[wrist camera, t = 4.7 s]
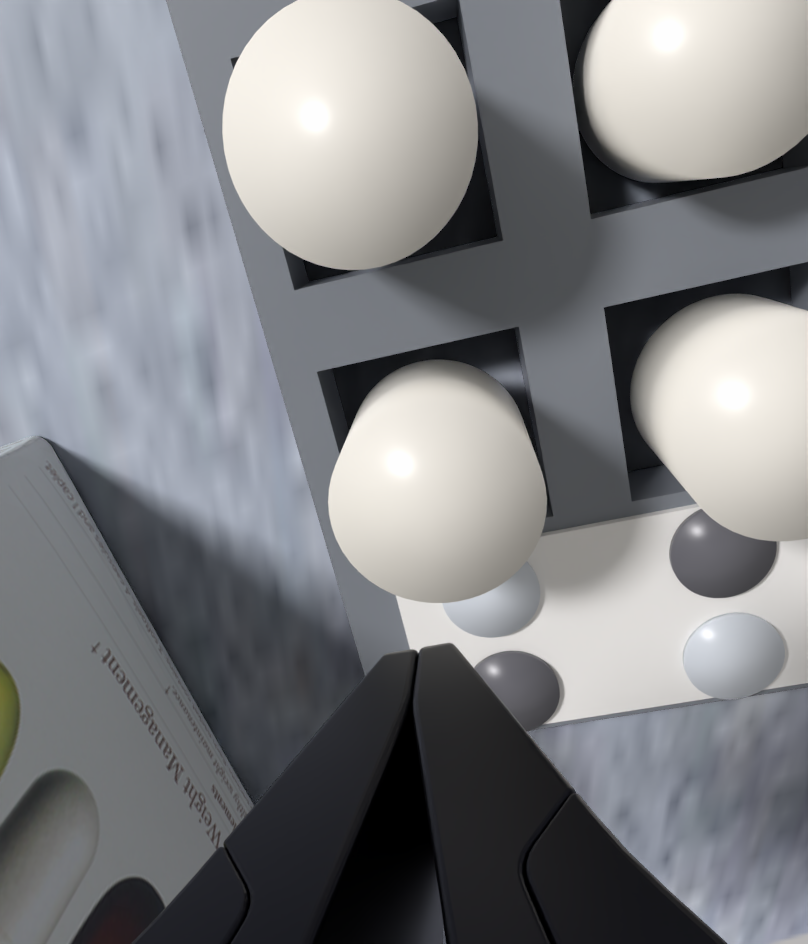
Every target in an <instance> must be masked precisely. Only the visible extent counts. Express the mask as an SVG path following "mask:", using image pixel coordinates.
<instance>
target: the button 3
mask: <svg viewBox="0 0 808 944" xmlns="http://www.w3.org/2000/svg"><path fill="white" fill-rule="evenodd" d="M573 97H574V104H575V111H576V118H577V123H578V126H579V129H580V132H581V134H582V136H583V138H584V140H585V142H586V143H587V145H588V146H589V148H590V149H591V151H592V152H593V153H594V154H595V155H596V156H597V158H598V159H599V160H600V161H601V162H602V163H604V164H605V165H606V166H607V167H609V168H610V169H611V170H613V171H615V172H617V173H618V174H620V175H622V176H625V177H627V178H630V179H633V180H637V181H641V182H649V183H667V182H678V181H689V180H701V179H712V178H723V177H729V176H735V175H740V174H743V173H746V172H750V171H753V170H755V169H758V168H760V167H762V166H764V165H767V164H769V163H770V162H772V161H774V160H775V159H777V158H779V157H780V156H782V155H784V154H785V153H786V152H788V151H789V150H790V149H791V148H793V147H794V146H795V145H797V144H798V143H799V142H800V141H801V140H802V139H803V138H804V137H805V136H806V135H807V134H808V0H611V1H610V2H609V4H608V5H607V6H606V7H605V8H604V10H603V11H602V12H601V13H600V14H599V16H598V17H597V19H596V20H595V22H594V23H593V24H592V26H591V27H590V29H589V31H588V33H587V35H586V37H585V39H584V41H583V43H582V46H581V48H580V51H579V54H578V57H577V61H576V64H575V70H574V76H573Z"/></svg>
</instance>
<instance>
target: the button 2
mask: <svg viewBox="0 0 808 944" xmlns="http://www.w3.org/2000/svg"><path fill="white" fill-rule="evenodd" d="M328 507H329V517H330V522H331V526H332V529H333V532H334V535H335V538H336V540H337V542H338V544H339V546H340V548H341V550H342V552H343V553H344V554H345V556H346V557H347V559H348V560H349V562H350V563H351V564H352V565H353V566H354V567H355V568H356V569H357V570H358V572H360V573H361V574H362V575H363V576H364V577H365V578H367V579H368V580H369V581H370V582H372V583H374V584H375V585H377V586H378V587H380V588H381V589H383V590H385V591H387V592H389V593H391V594H394V595H397V596H400V597H402V598H405V599H410V600H414V601H418V602H427V603H449V602H458V601H463V600H467V599H471V598H474V597H477V596H479V595H482V594H485V593H487V592H489V591H491V590H493V589H495V588H497V587H498V586H500V585H501V584H503V583H504V582H505V581H507V580H508V579H509V578H511V577H512V576H513V575H514V574H515V573H516V572H517V571H518V570H519V569H520V568H521V567H522V566H523V565H524V564H525V562H526V561H527V560H528V558H529V557H530V555H531V554H532V552H533V551H534V549H535V547H536V545H537V543H538V541H539V539H540V537H541V533H542V530H543V527H544V523H545V518H546V511H547V495H546V486H545V482H544V478H543V474H542V471H541V468H540V465H539V463H538V460H537V457H536V454H535V452H534V449H533V446H532V443H531V441H530V438H529V435H528V432H527V429H526V427H525V424H524V421H523V418H522V416H521V413H520V411H519V409H518V406H517V405H516V403H515V401H514V400H513V398H512V397H511V395H510V394H509V393H508V391H507V390H506V389H505V388H504V387H503V386H502V385H501V384H500V383H499V382H498V381H497V380H496V379H494V378H493V377H492V376H490V375H489V374H487V373H486V372H484V371H482V370H480V369H478V368H476V367H474V366H471V365H468V364H466V363H462V362H458V361H452V360H443V359H441V360H426V361H419V362H416V363H412V364H409V365H406V366H404V367H402V368H399V369H397V370H395V371H394V372H392V373H390V374H389V375H387V376H386V377H384V378H383V379H382V380H381V381H380V382H378V383H377V384H376V385H375V386H374V387H373V388H372V390H371V391H370V392H369V393H368V395H367V396H366V397H365V399H364V400H363V402H362V404H361V406H360V408H359V410H358V412H357V414H356V417H355V419H354V421H353V424H352V426H351V429H350V431H349V433H348V436H347V438H346V441H345V443H344V446H343V448H342V450H341V453H340V455H339V458H338V460H337V462H336V465H335V468H334V471H333V473H332V477H331V481H330V486H329V496H328Z"/></svg>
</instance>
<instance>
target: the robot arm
mask: <svg viewBox="0 0 808 944" xmlns="http://www.w3.org/2000/svg"><path fill="white" fill-rule="evenodd" d="M223 845H224V847H219V848H217V850H216V851H215V852H214V853H213V854H212V855H211V857H210V858H209V859H208V860H207V861H206V862H205V864H204V865H203V866H202V867H201V868H200V869H199V871H198V872H197V873H196V874H195V875H194V876H193V877H192V879H191V880H190V881H189V882H188V883H187V884H186V885H185V886H184V888H183V889H182V890H181V891H180V892H179V893H178V894H177V895H176V896H175V898H174V899H173V900H172V901H171V902H170V903H169V904H168V905H167V907H166V908H165V909H164V910H163V911H162V912H161V913H160V914H159V915H158V917H157V918H156V919H155V920H154V921H153V922H152V923H151V924H150V925H149V926H148V927H147V928H146V929H145V930H144V931H143V932H142V933H141V934H140V935H139V936H138V937H137V938H136V939H135V940H134V941H133V942H132V943H131V944H443V924H444V930H445V937H446V944H727V943H726V942H725V941H724V940H723V939H722V938H721V937H720V936H719V935H718V934H716V933H715V932H714V931H713V930H712V929H711V928H710V927H709V926H708V925H706V924H705V923H704V922H703V921H702V920H701V919H700V918H699V917H698V916H697V915H695V914H694V913H693V912H692V911H691V910H690V909H689V908H688V907H687V906H686V905H684V904H683V903H682V902H681V901H680V900H679V899H678V898H677V897H676V896H674V895H673V894H672V893H671V892H670V891H669V890H668V889H667V888H666V887H665V886H664V885H663V884H662V883H661V882H660V881H659V880H658V879H656V878H655V877H654V876H653V875H652V874H651V873H650V872H649V871H648V870H647V869H646V868H645V867H644V866H643V865H642V864H641V863H640V862H639V861H638V860H637V859H636V858H635V857H634V856H633V855H632V854H630V853H629V851H628V850H627V849H626V848H625V847H624V846H623V845H622V844H621V843H620V841H619V840H618V839H617V838H616V837H615V836H614V835H613V834H612V833H611V831H610V830H609V829H608V828H607V827H606V826H605V825H604V824H603V823H602V821H601V820H600V819H599V818H598V817H597V816H596V815H595V813H594V812H593V811H592V810H591V808H590V807H589V806H588V805H587V804H586V802H585V801H584V800H583V799H582V798H581V796H580V795H578V794H576V792H575V790H574V789H573V787H572V786H571V785H570V784H569V782H568V781H567V780H566V779H565V778H564V776H563V775H562V774H561V773H560V772H559V770H558V769H557V768H556V767H555V766H554V764H553V763H552V762H551V761H550V760H549V758H548V757H547V756H546V755H545V753H544V752H543V751H542V750H541V749H540V747H539V746H538V745H537V744H536V743H535V741H534V740H533V739H532V738H531V737H530V735H529V734H528V733H527V732H526V731H525V729H524V728H523V727H522V726H521V724H520V723H519V722H518V721H517V720H516V718H515V717H514V716H513V715H512V714H511V712H510V711H509V710H508V709H507V708H506V706H505V705H504V704H503V703H502V701H501V700H500V699H499V698H498V697H497V695H496V694H495V693H494V692H493V691H492V689H491V688H490V687H489V686H488V685H487V683H486V682H485V681H484V680H483V679H482V677H481V676H480V675H479V674H478V672H477V671H476V670H475V669H474V668H473V666H472V665H471V664H470V663H469V662H468V660H467V659H466V658H465V657H464V656H463V654H462V653H461V652H460V651H459V650H458V648H457V647H456V646H455V645H454V644H452V643H443V644H438V645H432V646H426V647H423V648H421V649H420V651H419V653H418V652H417V650H414V649H409V650H404V651H398V652H392V653H387V654H385V655H383V656H382V657H381V658H380V659H379V660H378V662H377V663H376V664H375V665H374V666H373V667H372V669H371V670H370V671H369V672H368V673H367V674H366V676H365V677H364V678H363V679H362V680H361V681H360V683H359V684H358V685H357V686H356V687H355V688H354V690H353V691H352V692H351V693H350V694H349V695H348V697H347V698H346V699H345V700H344V701H343V702H342V704H341V705H340V706H339V707H338V708H337V710H336V711H335V712H334V713H333V714H332V715H331V717H330V718H329V719H328V720H327V721H326V722H325V724H324V725H323V726H322V727H321V728H320V729H319V731H318V732H317V733H316V734H315V735H314V736H313V738H312V739H311V740H310V741H309V742H308V743H307V745H306V746H305V747H304V748H303V749H302V750H301V752H300V753H299V754H298V755H297V756H296V757H295V759H294V760H293V761H292V762H291V763H290V765H289V766H288V767H287V768H286V769H285V770H284V772H283V773H282V774H281V775H280V776H279V777H278V779H277V780H276V781H275V782H274V783H273V784H272V786H271V787H270V788H269V789H268V790H267V791H266V793H265V794H264V795H263V796H262V797H261V798H260V800H259V801H258V802H257V803H256V804H255V805H254V807H253V808H252V809H251V810H250V811H249V813H248V814H247V815H246V816H245V817H244V818H243V820H242V821H241V822H240V823H239V824H238V825H237V827H236V828H235V829H234V830H233V831H232V832H231V834H230V835H229V836H228V837H227V838H226V839H225V841H224V843H223Z"/></svg>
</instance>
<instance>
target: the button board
mask: <svg viewBox="0 0 808 944" xmlns="http://www.w3.org/2000/svg"><path fill="white" fill-rule="evenodd" d="M295 1H297V0H166V2H167V5H168V8H169V12H170V15H171V19H172V22H173V25H174V29H175V32H176V36H177V39H178V42H179V46H180V49H181V53H182V56H183V59H184V63H185V66H186V70H187V73H188V76H189V80H190V83H191V87H192V90H193V93H194V97H195V100H196V104H197V107H198V110H199V114H200V117H201V121H202V124H203V127H204V131H205V134H206V138H207V141H208V144H209V148H210V151H211V155H212V158H213V161H214V165H215V168H216V172H217V175H218V178H219V182H220V185H221V189H222V192H223V195H224V199H225V202H226V206H227V209H228V212H229V216H230V219H231V223H232V226H233V229H234V233H235V236H236V240H237V243H238V246H239V250H240V253H241V257H242V260H243V263H244V267H245V270H246V274H247V277H248V280H249V284H250V287H251V291H252V294H253V297H254V301H255V304H256V308H257V311H258V314H259V318H260V321H261V325H262V328H263V331H264V335H265V338H266V342H267V345H268V348H269V352H270V355H271V359H272V362H273V365H274V369H275V372H276V376H277V379H278V382H279V386H280V389H281V393H282V396H283V399H284V403H285V406H286V410H287V413H288V416H289V420H290V423H291V427H292V430H293V433H294V437H295V440H296V444H297V447H298V450H299V454H300V457H301V461H302V464H303V467H304V471H305V474H306V478H307V481H308V484H309V488H310V491H311V495H312V498H313V501H314V505H315V508H316V512H317V515H318V518H319V522H320V525H321V529H322V532H323V535H324V539H325V542H326V546H327V549H328V552H329V556H330V559H331V563H332V566H333V569H334V573H335V576H336V580H337V583H338V586H339V590H340V593H341V597H342V600H343V603H344V607H345V610H346V614H347V617H348V620H349V624H350V627H351V631H352V634H353V637H354V641H355V644H356V648H357V651H358V654H359V658H360V661H361V665H362V668H363V671H364V675H365V676H366V674H367V673H368V672H369V671H370V670H371V669H372V667H373V666H374V665H375V664H376V663H377V662H378V660H379V659H380V658H381V657H382V656H383V655H385V654H387V653H392V652H398V651H404V650H409V649H414V650H417V652H418V653H419V651H420V649H421V648H423V647H426V646H432V645H438V644H443V643H452V644H454V645H455V646H456V647H457V648H458V650H459V651H460V652H461V653H462V654H463V656H464V657H465V658H466V659H467V660H468V662H469V663H470V664H471V665H472V666H473V668H474V669H475V670H476V671H477V672H478V674H479V675H480V676H481V677H482V679H483V680H484V681H485V682H486V683H487V685H488V686H489V687H490V688H491V689H492V691H493V692H494V693H495V694H496V695H497V697H498V698H499V699H500V700H501V701H502V703H503V704H504V705H505V706H506V708H507V709H508V710H509V711H510V712H511V714H512V715H513V716H514V717H515V718H516V720H517V721H518V722H519V723H520V724H521V726H522V727H523V728H524V729H525V731H526V732H527V731H530V730H537V729H543V728H550V727H556V726H562V725H569V724H575V723H582V722H588V721H594V720H601V719H607V718H614V717H620V716H626V715H633V714H639V713H646V712H652V711H658V710H665V709H671V708H678V707H684V706H691V705H697V704H703V703H710V702H716V701H723V700H729V699H740V698H745V697H748V696H755V695H761V694H767V693H774V692H780V691H787V690H793V689H799V688H806V687H808V538H807V539H803V540H794V541H766V540H759V539H754V538H750V537H746V536H743V535H741V534H738V533H735V532H733V531H731V530H729V529H727V528H725V527H723V526H722V525H720V524H719V523H717V522H716V521H715V520H713V519H712V518H710V517H709V516H708V515H707V514H706V513H705V512H704V511H703V510H702V509H701V508H700V507H699V505H698V504H697V503H696V502H695V501H694V499H693V498H692V497H691V496H690V495H689V493H688V492H687V491H686V490H685V489H684V487H683V486H682V485H681V484H680V483H679V481H678V480H677V479H676V478H675V477H674V476H673V474H672V473H671V472H670V471H669V470H668V468H667V467H666V466H665V465H662V466H657V467H652V468H647V469H641V470H636V471H631V472H627V465H626V458H625V451H624V444H623V438H622V431H621V424H620V417H619V410H618V403H617V396H616V389H615V382H614V375H613V368H612V361H611V354H610V347H609V340H608V333H607V326H606V319H605V312H604V307H608V306H613V305H617V304H622V303H626V302H630V301H635V300H639V299H644V298H648V297H653V296H657V295H662V294H666V293H671V292H675V291H680V290H684V289H688V288H693V287H697V286H702V285H706V284H711V283H715V282H720V281H724V280H729V279H733V278H738V277H742V276H747V275H751V274H755V273H760V272H764V271H769V270H773V269H778V268H782V267H787V266H789V267H790V283H791V299H792V306H794V307H797V308H800V309H804V310H807V311H808V134H807V135H806V136H805V137H804V138H803V139H802V140H801V141H800V142H799V143H798V144H797V145H795V146H794V147H793V148H791V149H790V150H789V151H788V152H786V153H785V154H784V155H783V168H782V169H777V170H773V171H769V172H765V173H761V174H757V175H752V176H748V177H744V178H740V179H736V180H732V181H727V182H723V183H719V184H715V185H711V186H707V187H702V188H698V189H694V190H690V191H686V192H681V193H677V194H673V195H669V196H665V197H661V198H656V199H652V200H648V201H644V202H640V203H636V204H631V205H627V206H623V207H619V208H615V209H611V210H606V211H602V212H598V213H594V214H590V208H589V201H588V194H587V187H586V180H585V173H584V166H583V159H582V153H581V146H580V139H579V132H578V125H577V118H576V111H575V104H574V97H573V90H572V83H571V76H570V69H569V62H568V55H567V48H566V41H565V34H564V27H563V20H562V13H561V7H560V0H398V1H401V2H403V3H404V4H406V5H408V6H409V7H411V8H413V9H414V10H416V11H418V12H419V13H420V14H421V15H423V16H424V17H425V18H426V19H427V20H429V21H430V22H431V23H432V24H433V23H436V22H440V21H444V20H447V19H451V18H454V17H457V20H458V26H459V31H460V36H461V42H462V47H463V53H464V58H465V64H466V69H467V74H468V79H469V82H470V85H471V88H472V92H473V96H474V100H475V104H476V112H477V120H478V134H479V140H480V145H481V150H482V156H483V161H484V167H485V172H486V178H487V183H488V188H489V194H490V199H491V205H492V210H493V216H494V221H495V226H496V232H497V237H494V238H490V239H486V240H481V241H477V242H473V243H469V244H465V245H461V246H456V247H452V248H448V249H444V250H440V251H436V252H431V253H427V254H423V255H419V256H415V257H411V258H406V259H402V260H399V261H397V262H394V263H391V264H388V265H385V266H381V267H377V268H371V269H365V270H356V271H352V272H348V273H344V274H340V275H336V276H331V277H327V278H323V279H319V280H315V281H311V282H309V281H308V277H307V274H306V270H305V266H304V263H303V259H302V258H300V257H298V256H296V255H294V254H293V253H291V252H289V251H287V250H286V249H285V248H283V247H282V246H280V245H279V244H278V243H276V242H275V241H274V240H273V239H272V238H271V237H270V236H268V235H267V234H266V233H265V232H264V231H263V230H262V229H261V228H260V226H259V225H258V224H257V223H256V222H255V220H254V219H253V218H252V217H251V215H250V214H249V212H248V211H247V209H246V208H245V206H244V204H243V203H242V201H241V199H240V197H239V195H238V193H237V191H236V189H235V187H234V184H233V181H232V179H231V176H230V173H229V170H228V166H227V162H226V157H225V153H224V144H223V135H222V124H223V109H224V101H225V95H226V92H227V88H228V84H229V80H230V77H231V75H232V72H233V70H234V67H235V65H236V62H237V61H238V59H239V57H240V55H241V53H242V52H243V50H244V48H245V46H246V45H247V44H248V42H249V41H250V40H251V38H252V37H253V35H254V34H255V33H256V32H257V31H258V30H259V29H260V28H261V26H262V25H263V24H264V23H265V22H266V21H267V20H268V19H270V18H271V17H272V16H273V15H275V14H276V13H277V12H279V11H280V10H281V9H283V8H284V7H286V6H288V5H290V4H292V3H293V2H295ZM510 328H514V330H515V335H516V340H517V346H518V351H519V357H520V362H521V368H522V373H523V378H524V384H525V389H526V395H527V400H528V406H529V411H530V416H531V422H532V427H533V433H534V438H535V443H536V449H537V454H538V460H539V465H540V468H541V471H542V474H543V478H544V482H545V486H546V495H547V511H546V518H545V523H544V527H543V530H542V533H541V537H540V539H539V541H538V543H537V545H536V547H535V549H534V551H533V552H532V554H531V555H530V557H529V558H528V560H527V561H526V562H525V564H524V565H523V566H522V567H521V568H520V569H519V570H518V571H517V572H516V573H515V574H514V575H513V576H512V577H511V578H509V579H508V580H507V581H505V582H504V583H503V584H501V585H500V586H498V587H497V588H495V589H493V590H491V591H489V592H487V593H485V594H482V595H479V596H477V597H474V598H471V599H467V600H463V601H458V602H449V603H427V602H418V601H414V600H410V599H405V598H402V597H400V596H397V595H394V594H391V593H389V592H387V591H385V590H383V589H381V588H380V587H378V586H377V585H375V584H374V583H372V582H370V581H369V580H368V579H367V578H365V577H364V576H363V575H362V574H361V573H360V572H358V570H357V569H356V568H355V567H354V566H353V565H352V564H351V563H350V562H349V560H348V559H347V557H346V556H345V554H344V553H343V552H342V550H341V548H340V546H339V544H338V542H337V540H336V538H335V535H334V532H333V529H332V526H331V522H330V517H329V507H328V496H329V486H330V481H331V477H332V473H333V471H334V468H335V465H336V462H337V460H338V458H339V455H340V453H341V450H342V448H343V446H344V443H345V441H346V438H347V436H348V433H349V430H348V426H347V423H346V419H345V415H344V411H343V408H342V404H341V400H340V397H339V393H338V389H337V385H336V382H335V378H334V374H333V370H332V368H336V367H340V366H345V365H349V364H354V363H358V362H363V361H367V360H372V359H376V358H381V357H385V356H389V355H394V354H398V353H403V352H407V351H412V350H416V349H421V348H425V347H430V346H434V345H439V344H443V343H447V342H452V341H456V340H461V339H465V338H470V337H474V336H479V335H483V334H488V333H492V332H497V331H501V330H505V329H510Z"/></svg>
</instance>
